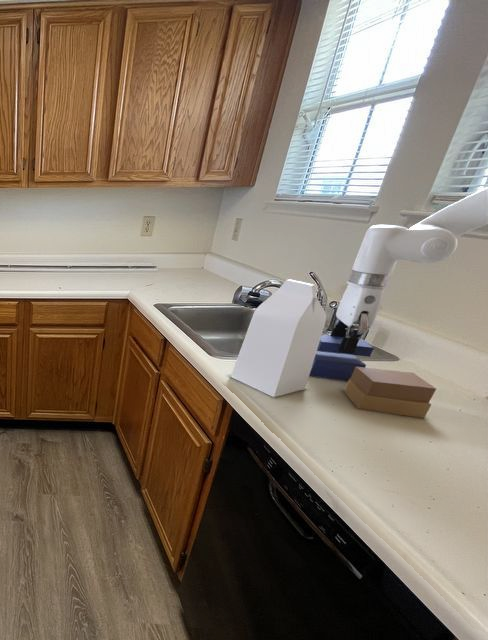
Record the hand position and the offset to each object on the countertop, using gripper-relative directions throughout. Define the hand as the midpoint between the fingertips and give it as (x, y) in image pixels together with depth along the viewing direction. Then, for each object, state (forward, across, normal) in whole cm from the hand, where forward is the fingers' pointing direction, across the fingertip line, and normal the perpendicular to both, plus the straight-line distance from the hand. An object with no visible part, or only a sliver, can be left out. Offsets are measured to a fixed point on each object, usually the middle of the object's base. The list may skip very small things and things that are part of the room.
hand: (340, 346), depth 109 cm
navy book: (+1, 0, 0) cm, 1 cm away
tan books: (+8, -15, -6) cm, 18 cm away
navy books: (+8, 0, 0) cm, 8 cm away
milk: (+8, -12, +17) cm, 23 cm away
